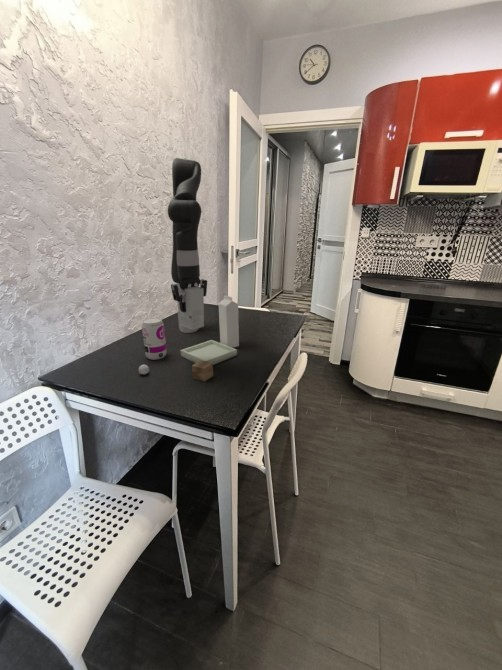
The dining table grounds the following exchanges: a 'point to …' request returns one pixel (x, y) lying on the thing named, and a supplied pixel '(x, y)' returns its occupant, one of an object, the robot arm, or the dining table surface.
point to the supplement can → (154, 338)
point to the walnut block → (202, 370)
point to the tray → (209, 352)
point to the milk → (228, 322)
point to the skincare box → (192, 308)
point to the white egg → (143, 369)
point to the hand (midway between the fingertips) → (191, 309)
